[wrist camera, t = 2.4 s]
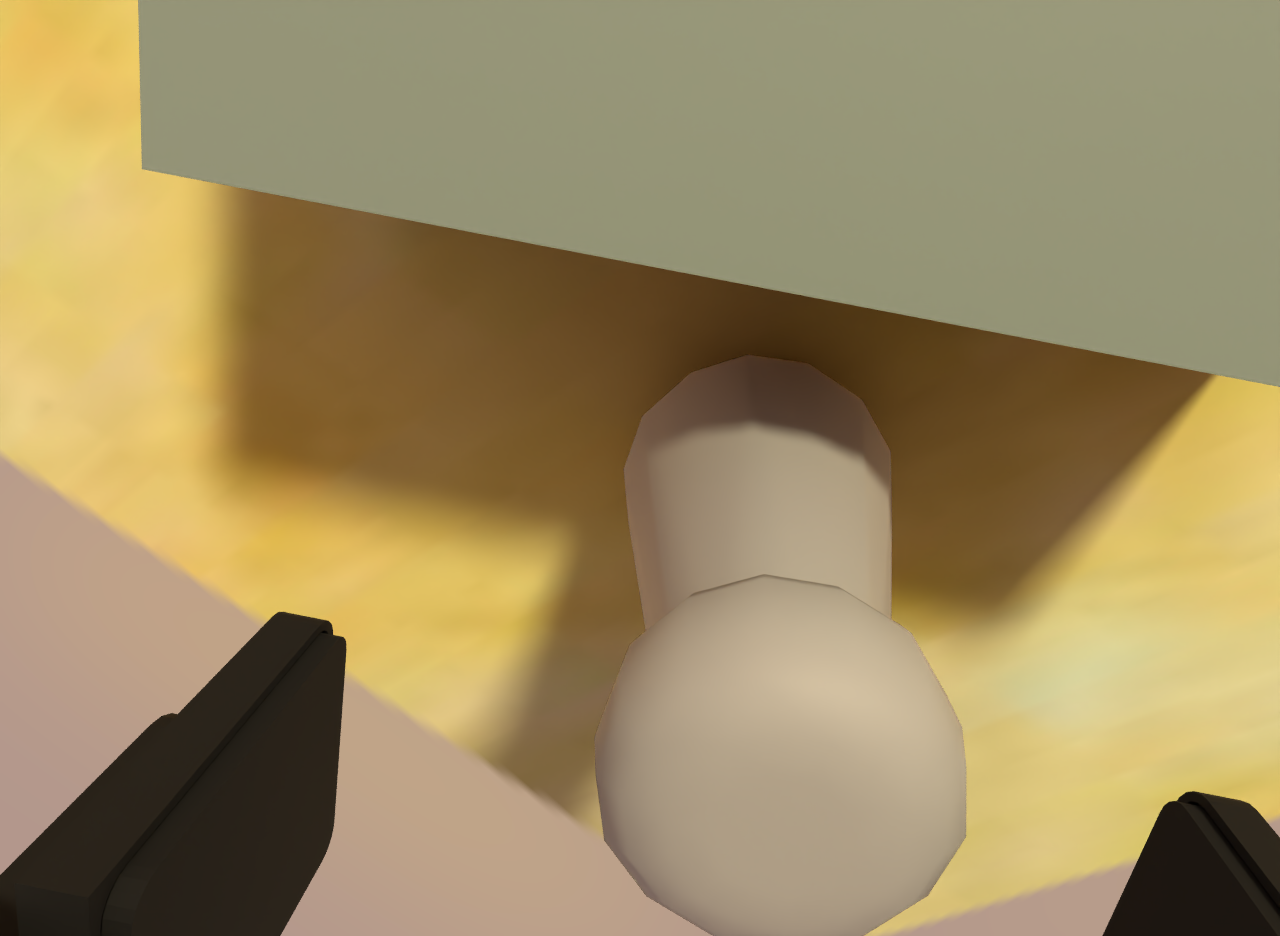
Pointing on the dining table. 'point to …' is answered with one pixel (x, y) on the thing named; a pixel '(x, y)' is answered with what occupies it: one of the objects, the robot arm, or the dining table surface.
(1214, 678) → the dining table surface
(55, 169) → the dining table surface
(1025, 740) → the dining table surface
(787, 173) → the lid
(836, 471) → the salt shaker
